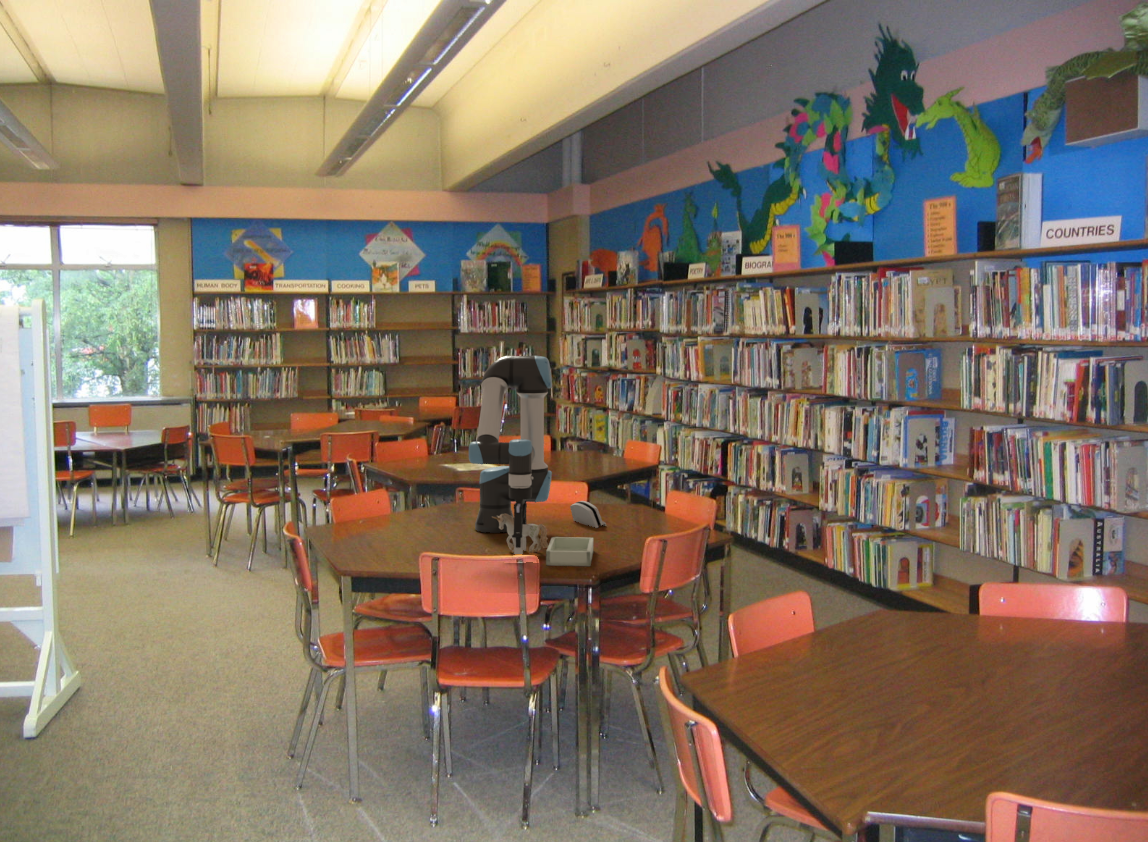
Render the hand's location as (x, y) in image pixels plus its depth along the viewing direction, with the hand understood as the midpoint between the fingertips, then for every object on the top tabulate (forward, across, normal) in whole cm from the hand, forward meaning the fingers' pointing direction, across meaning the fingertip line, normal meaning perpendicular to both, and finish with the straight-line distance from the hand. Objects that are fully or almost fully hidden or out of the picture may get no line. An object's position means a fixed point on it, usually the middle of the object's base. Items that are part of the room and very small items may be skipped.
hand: (520, 553), depth 323 cm
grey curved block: (0, +53, -20) cm, 57 cm away
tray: (0, -4, -17) cm, 17 cm away
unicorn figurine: (0, 0, 0) cm, 1 cm away
